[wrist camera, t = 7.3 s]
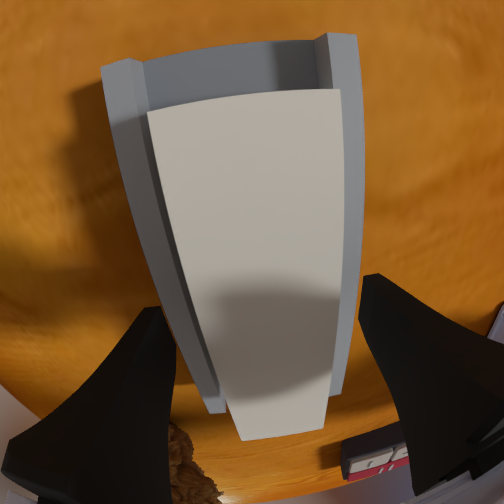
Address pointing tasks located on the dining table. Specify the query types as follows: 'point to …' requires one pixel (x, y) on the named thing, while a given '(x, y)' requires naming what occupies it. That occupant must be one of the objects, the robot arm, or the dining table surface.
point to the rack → (217, 86)
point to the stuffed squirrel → (188, 472)
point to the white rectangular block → (260, 244)
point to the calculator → (373, 452)
